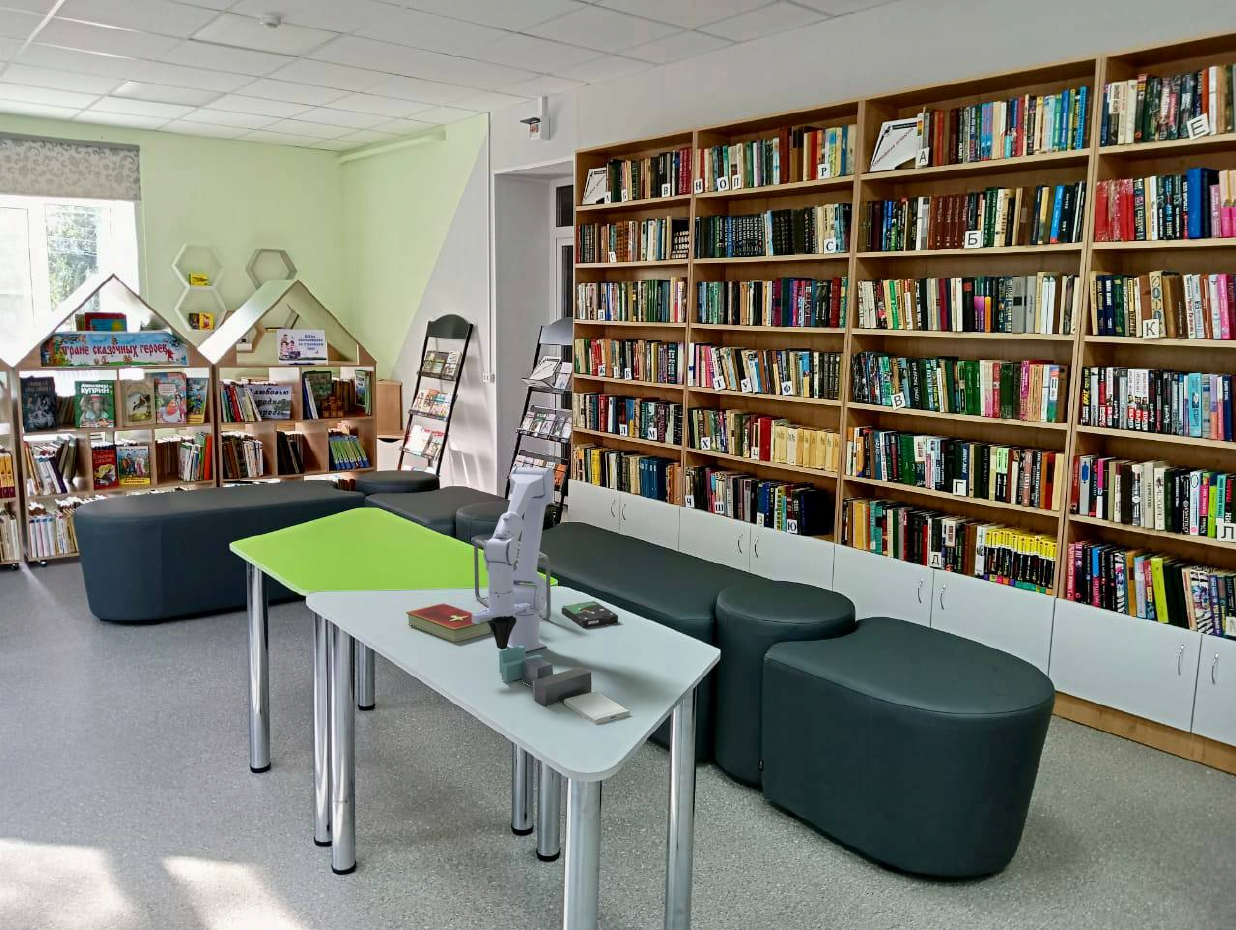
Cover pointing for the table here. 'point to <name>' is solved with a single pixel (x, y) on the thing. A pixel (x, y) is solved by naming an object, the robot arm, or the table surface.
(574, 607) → the disk drive
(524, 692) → the table surface
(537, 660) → the steel block
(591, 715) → the hard drive
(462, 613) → the hardcover book
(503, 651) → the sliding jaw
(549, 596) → the newton's cradle
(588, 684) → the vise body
